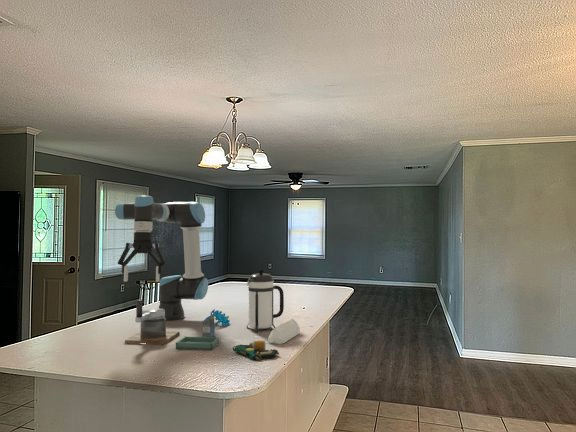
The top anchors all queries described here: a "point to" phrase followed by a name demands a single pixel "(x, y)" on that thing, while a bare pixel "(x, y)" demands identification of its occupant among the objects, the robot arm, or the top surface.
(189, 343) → the tray
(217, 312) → the gear
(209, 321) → the label tape cartridge
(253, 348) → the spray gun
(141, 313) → the crank
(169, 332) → the stand
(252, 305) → the coffee press
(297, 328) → the white faceted wedge
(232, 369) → the top surface
